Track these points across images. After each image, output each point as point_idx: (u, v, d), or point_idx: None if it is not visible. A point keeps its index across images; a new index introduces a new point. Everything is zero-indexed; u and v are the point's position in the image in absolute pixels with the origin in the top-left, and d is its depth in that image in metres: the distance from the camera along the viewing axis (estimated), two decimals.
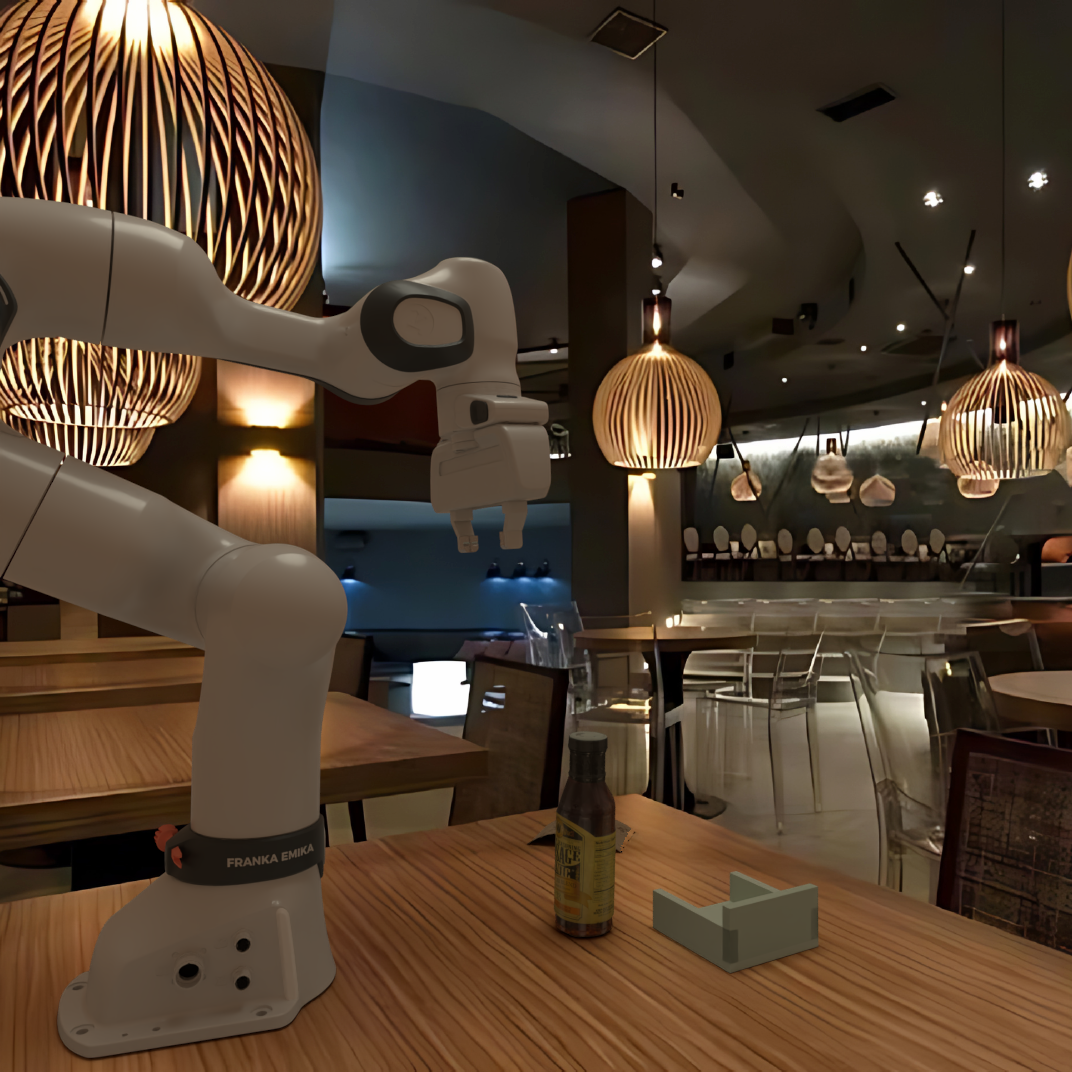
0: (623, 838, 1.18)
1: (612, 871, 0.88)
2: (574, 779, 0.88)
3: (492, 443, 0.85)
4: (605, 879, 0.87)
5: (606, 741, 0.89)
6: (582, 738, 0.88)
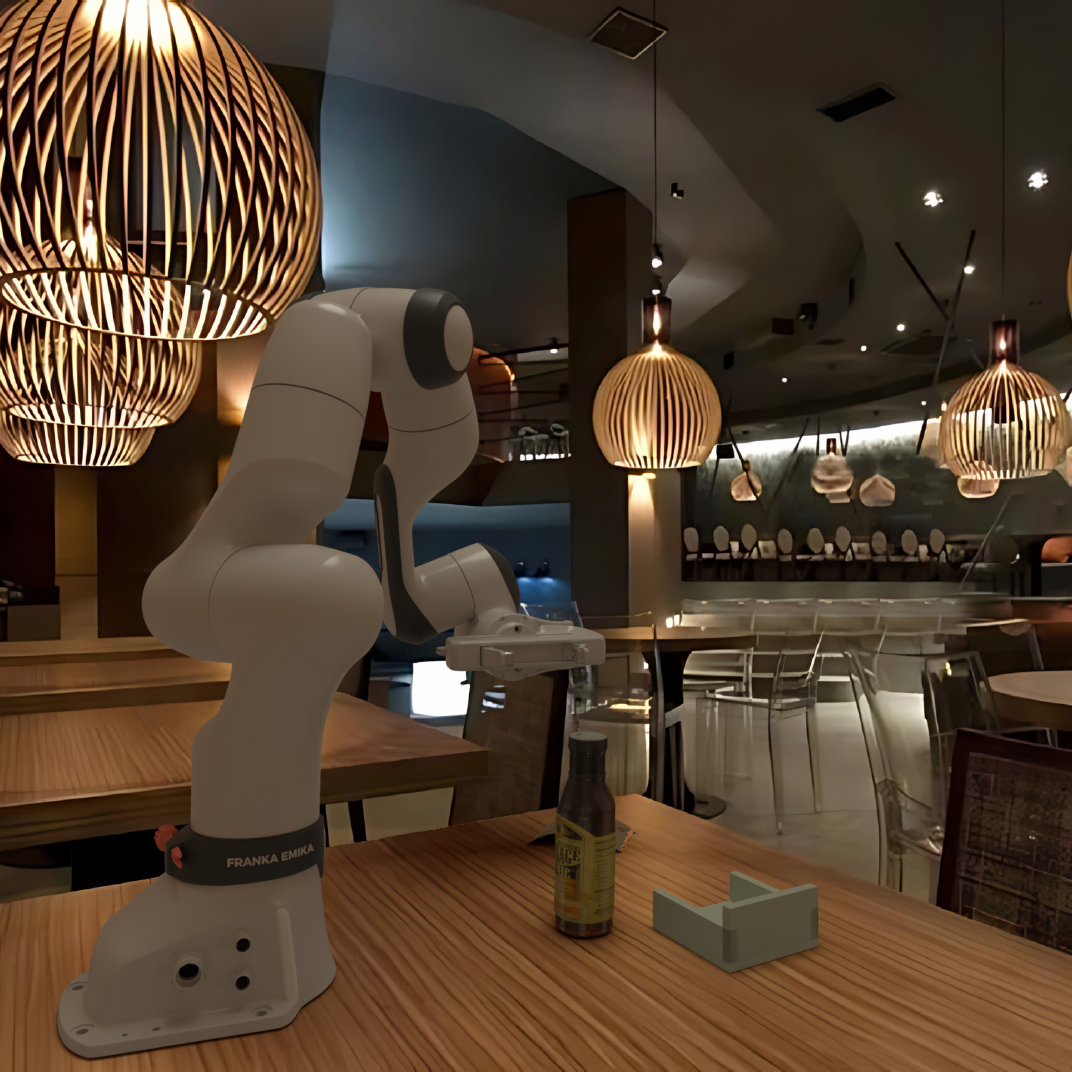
0: (623, 838, 1.18)
1: (612, 871, 0.88)
2: (574, 779, 0.88)
3: (558, 632, 1.13)
4: (605, 879, 0.87)
5: (606, 741, 0.89)
6: (582, 738, 0.88)
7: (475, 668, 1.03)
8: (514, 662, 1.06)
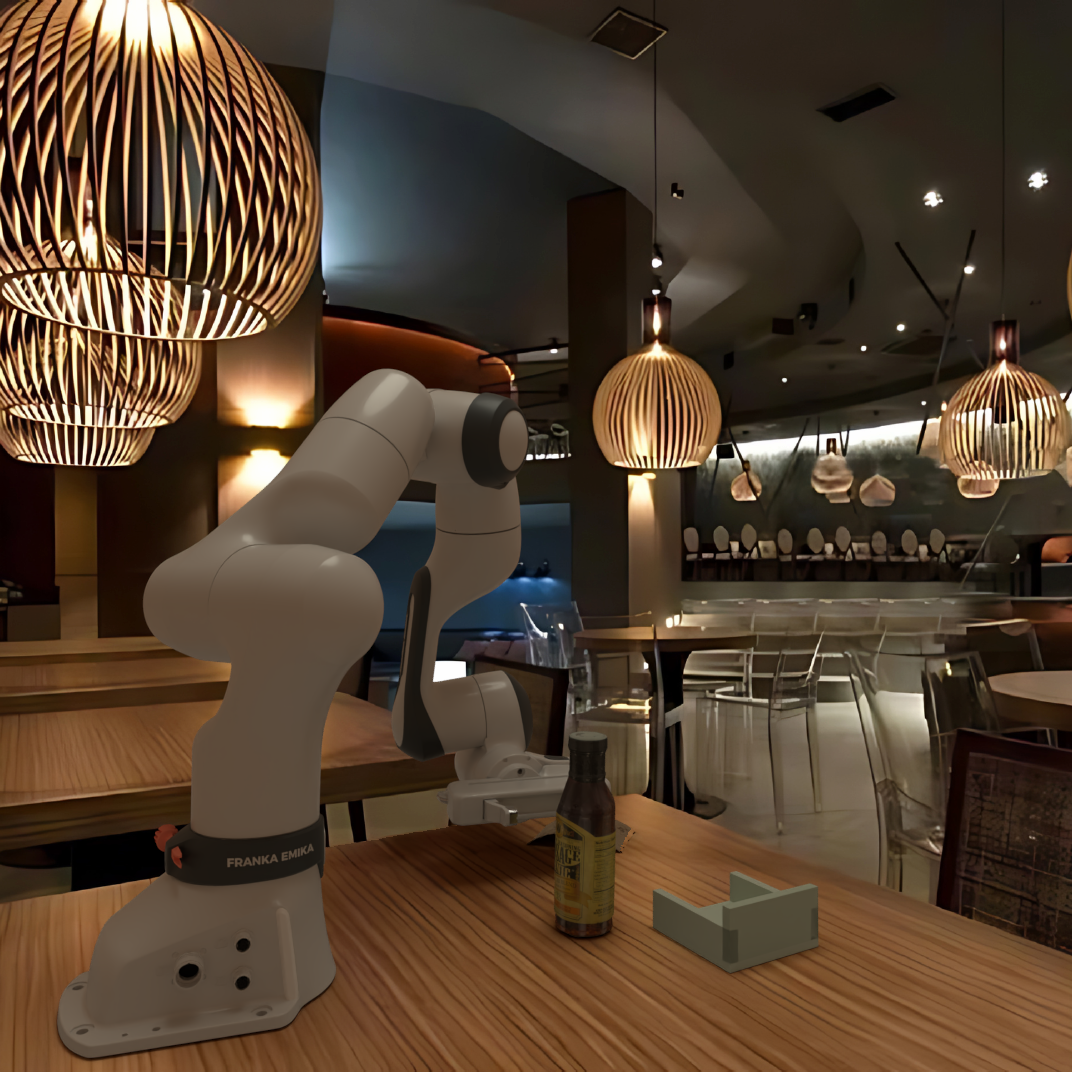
0: (623, 838, 1.17)
1: (612, 871, 0.88)
2: (574, 779, 0.88)
3: (562, 773, 1.10)
4: (605, 879, 0.87)
5: (606, 741, 0.89)
6: (582, 738, 0.88)
7: (478, 822, 1.00)
8: (518, 813, 1.03)
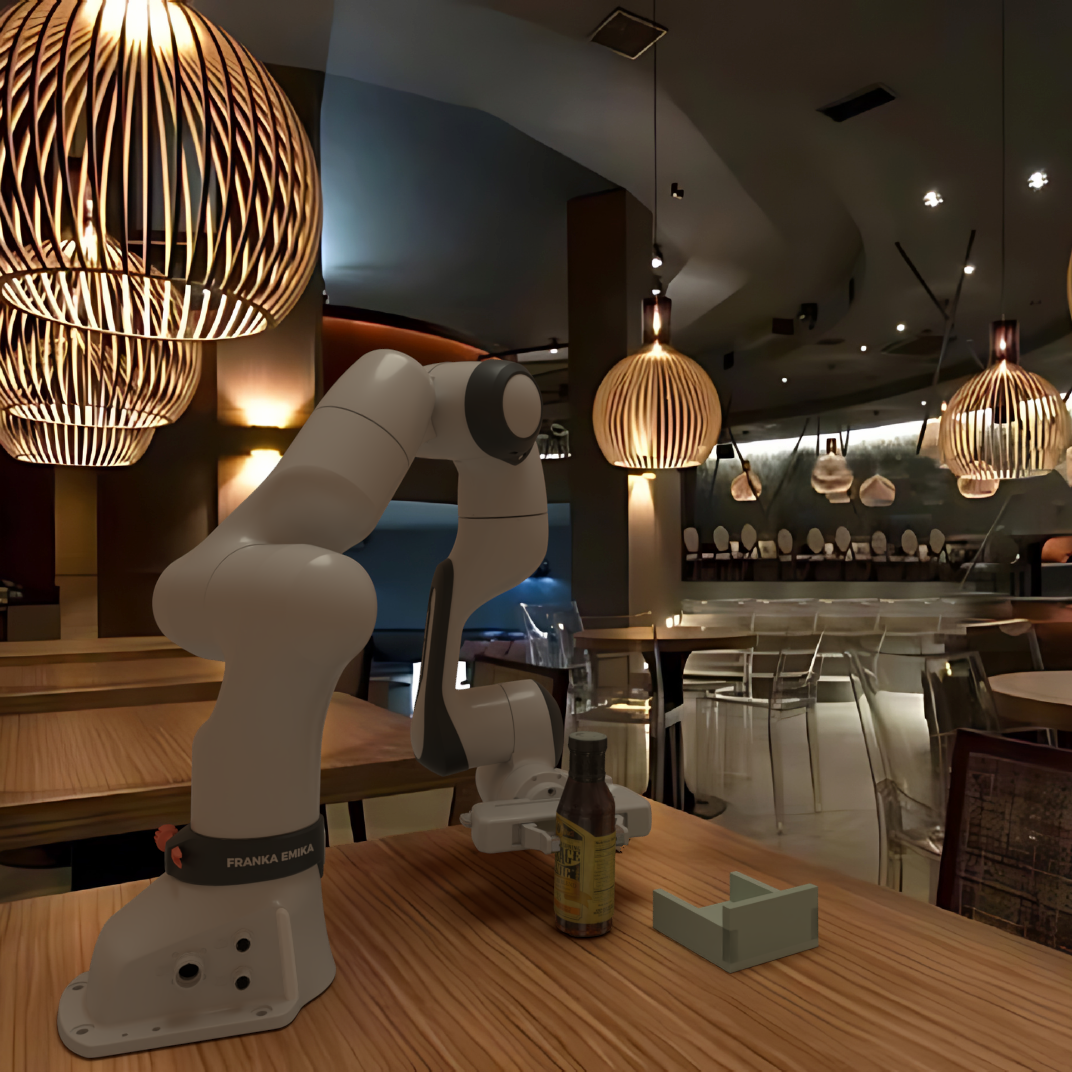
0: None
1: (612, 871, 0.88)
2: (574, 779, 0.88)
3: None
4: (605, 878, 0.87)
5: (606, 741, 0.89)
6: (582, 738, 0.88)
7: (506, 849, 0.91)
8: None
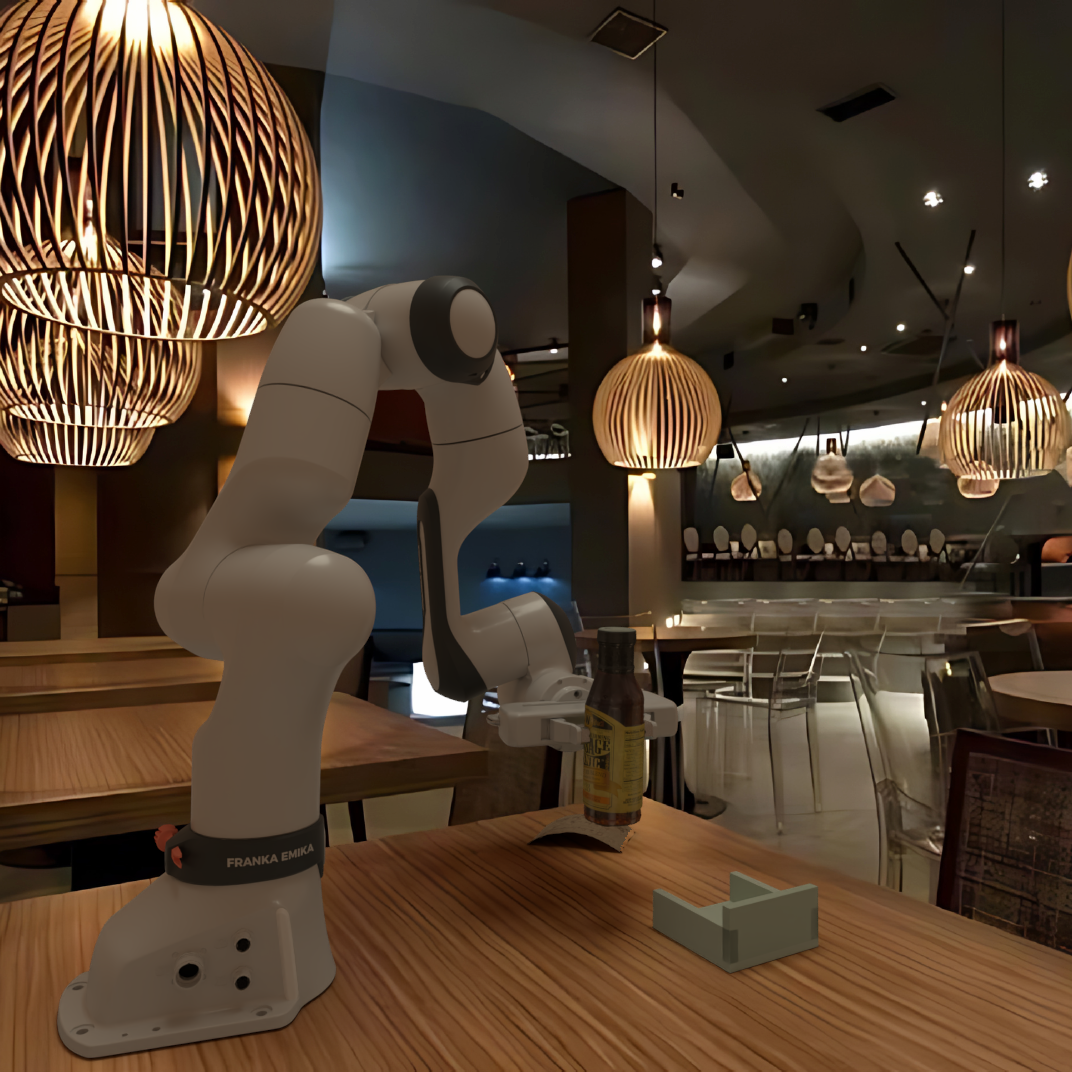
0: (623, 838, 1.17)
1: (641, 762, 0.88)
2: (604, 671, 0.88)
3: None
4: (634, 769, 0.87)
5: (635, 634, 0.89)
6: (611, 630, 0.88)
7: (535, 744, 0.91)
8: None
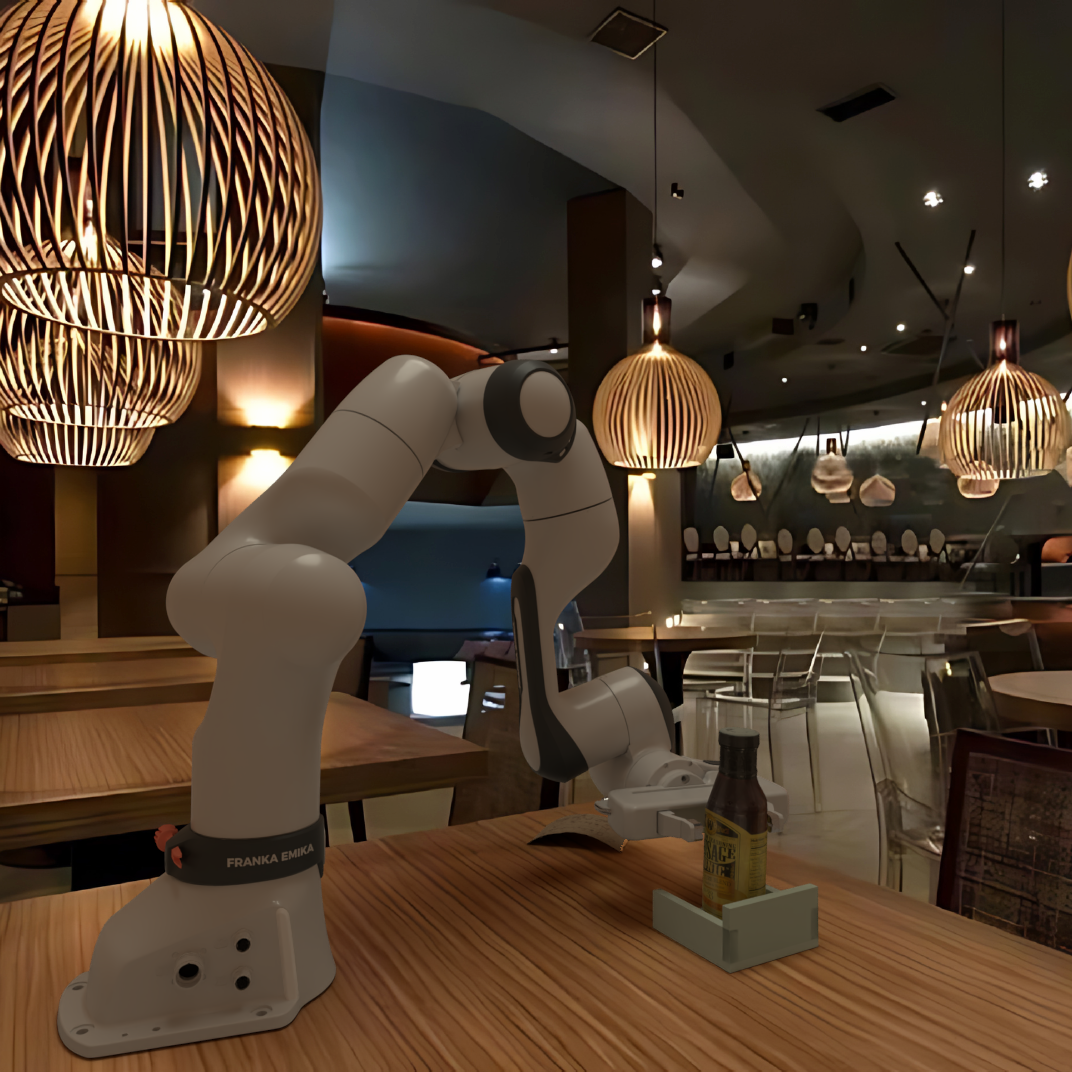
0: (623, 838, 1.17)
1: (765, 869, 0.86)
2: (727, 775, 0.86)
3: None
4: (759, 877, 0.85)
5: (759, 737, 0.87)
6: (736, 734, 0.86)
7: (651, 837, 0.89)
8: None
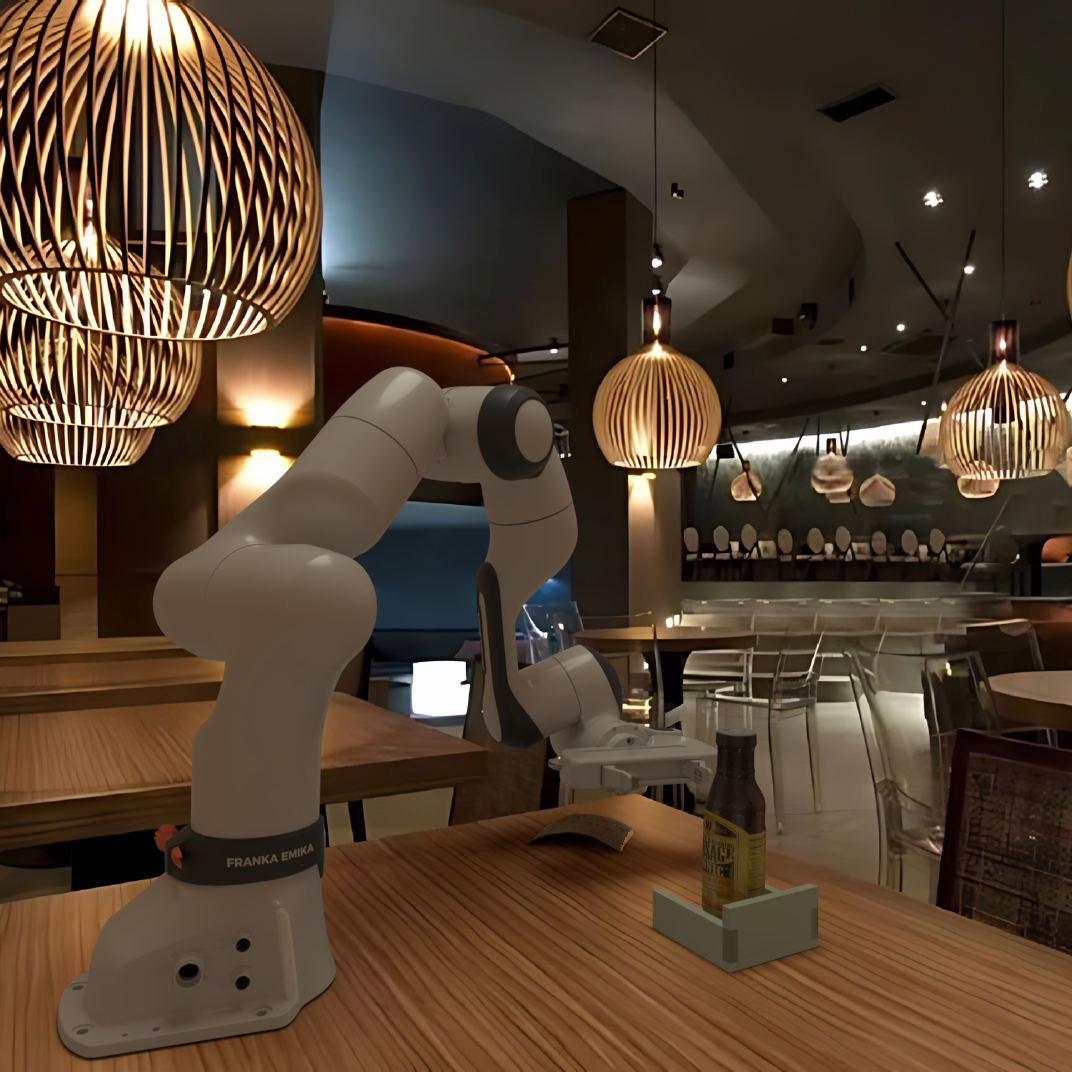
0: (623, 838, 1.17)
1: (764, 869, 0.86)
2: (725, 775, 0.87)
3: (670, 743, 1.11)
4: (758, 877, 0.85)
5: (756, 737, 0.87)
6: (733, 734, 0.86)
7: (595, 787, 1.01)
8: None
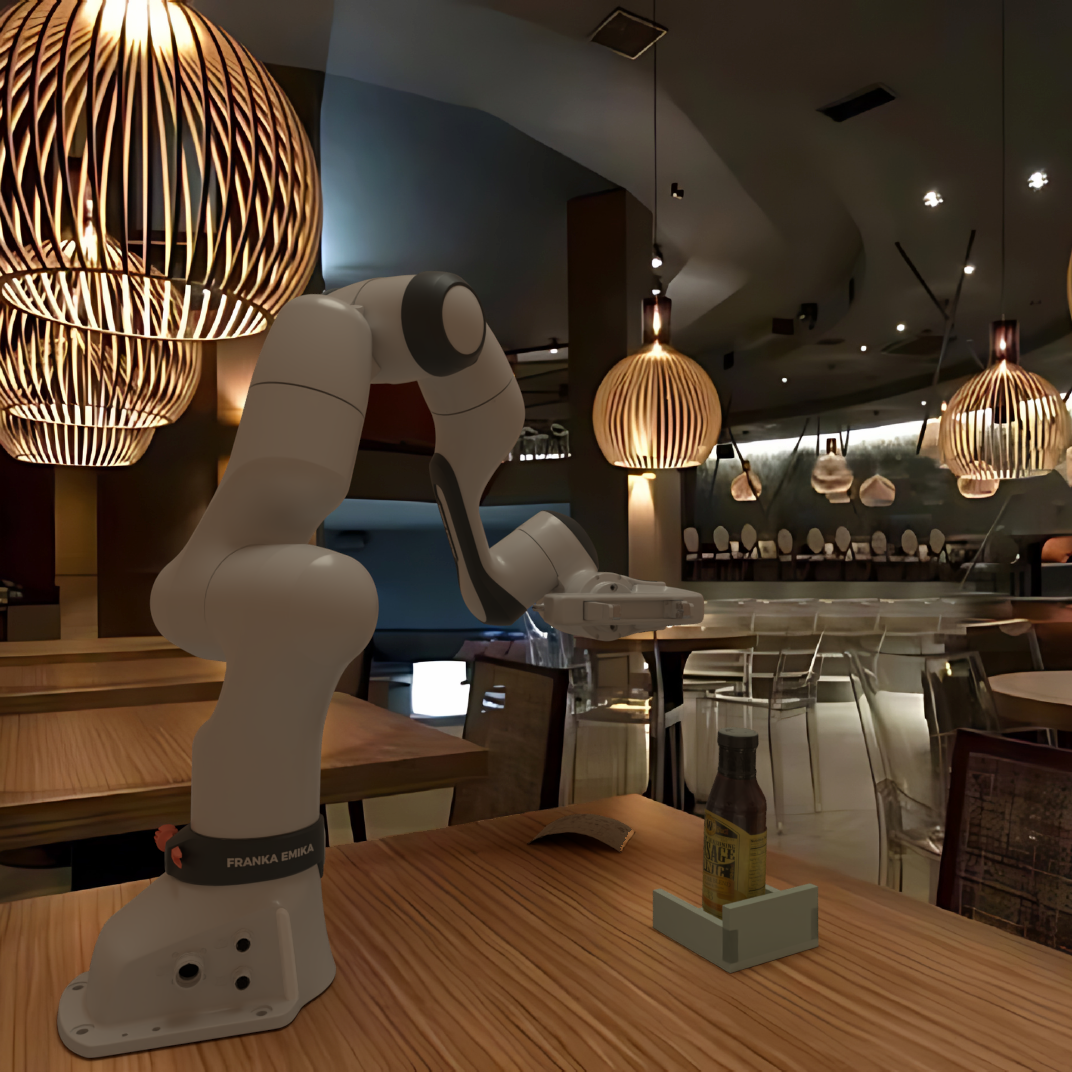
0: (623, 838, 1.17)
1: (765, 870, 0.86)
2: (726, 775, 0.86)
3: (653, 591, 1.12)
4: (759, 877, 0.85)
5: None
6: (734, 734, 0.86)
7: (578, 623, 1.02)
8: None
